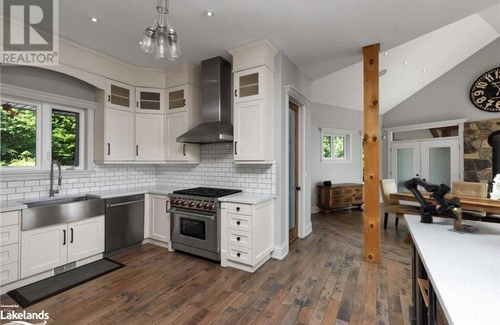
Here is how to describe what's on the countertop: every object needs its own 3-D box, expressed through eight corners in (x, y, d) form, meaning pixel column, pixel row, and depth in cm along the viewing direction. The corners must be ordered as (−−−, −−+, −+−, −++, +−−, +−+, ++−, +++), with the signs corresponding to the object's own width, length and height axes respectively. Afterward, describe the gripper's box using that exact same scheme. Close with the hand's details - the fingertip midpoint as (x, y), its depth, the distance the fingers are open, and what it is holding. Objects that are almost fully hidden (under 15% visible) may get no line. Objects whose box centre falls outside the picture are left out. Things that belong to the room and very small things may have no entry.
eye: (456, 229, 153) (456, 224, 153) (463, 227, 155) (463, 223, 155) (471, 232, 145) (471, 228, 145) (478, 231, 148) (478, 226, 148)
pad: (447, 230, 151) (447, 229, 151) (453, 229, 153) (453, 228, 153) (461, 233, 143) (461, 233, 143) (468, 232, 146) (468, 231, 146)
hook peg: (451, 228, 150) (451, 207, 149) (455, 228, 151) (455, 207, 151) (459, 230, 146) (459, 209, 146) (463, 229, 147) (462, 208, 147)
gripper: (441, 193, 149) (461, 213, 138) (458, 191, 155) (479, 210, 145) (428, 203, 156) (446, 223, 146) (445, 201, 162) (464, 220, 152)
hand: (459, 219), depth 147 cm, fingers closed on hook peg, 4 cm apart
